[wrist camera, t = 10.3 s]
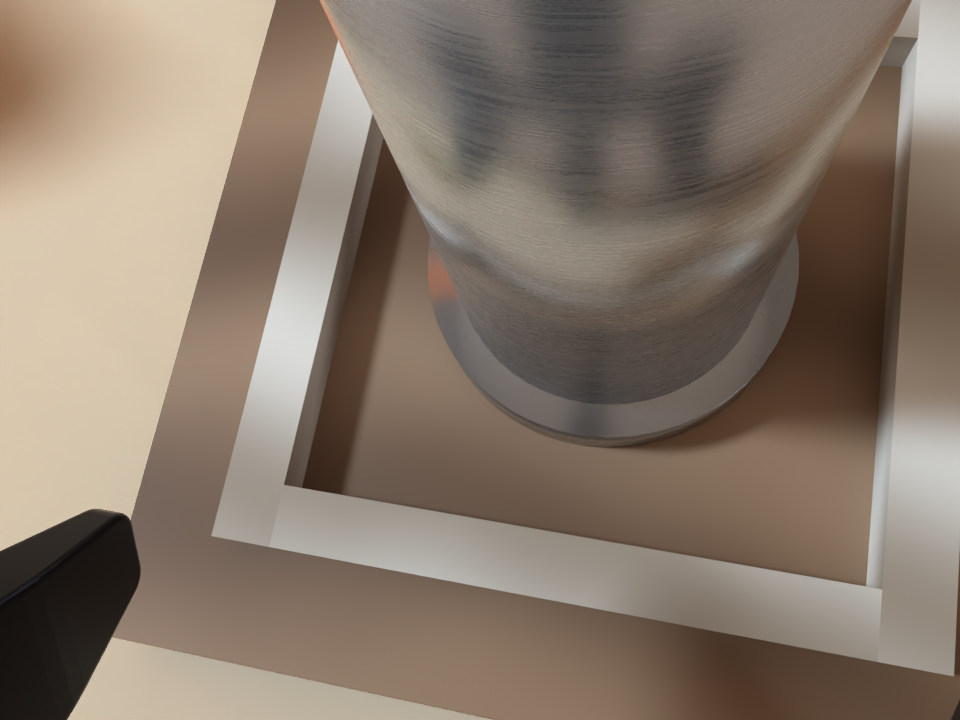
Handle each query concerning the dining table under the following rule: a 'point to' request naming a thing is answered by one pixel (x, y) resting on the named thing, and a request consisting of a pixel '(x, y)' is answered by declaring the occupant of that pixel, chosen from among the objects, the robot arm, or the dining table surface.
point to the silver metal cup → (613, 187)
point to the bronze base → (561, 448)
